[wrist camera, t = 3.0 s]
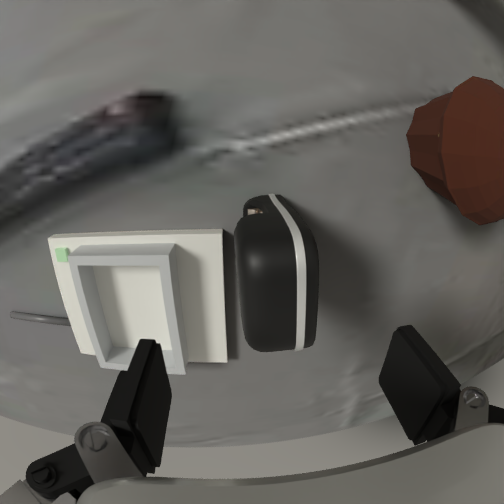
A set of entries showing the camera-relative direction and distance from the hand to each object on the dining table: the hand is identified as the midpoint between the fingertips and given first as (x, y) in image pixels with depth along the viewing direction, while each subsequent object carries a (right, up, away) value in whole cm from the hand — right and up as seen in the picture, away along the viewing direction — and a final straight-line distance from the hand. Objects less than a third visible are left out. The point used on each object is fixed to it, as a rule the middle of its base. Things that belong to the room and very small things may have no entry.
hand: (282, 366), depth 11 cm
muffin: (+17, +14, +11) cm, 25 cm away
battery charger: (0, +6, +13) cm, 15 cm away
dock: (-17, 0, +15) cm, 22 cm away
